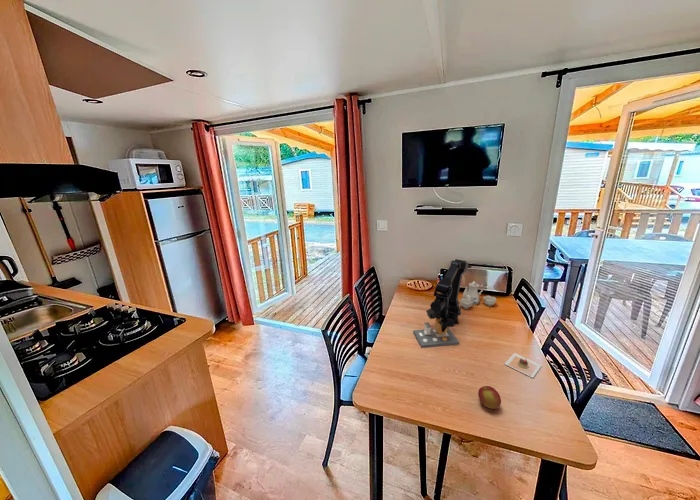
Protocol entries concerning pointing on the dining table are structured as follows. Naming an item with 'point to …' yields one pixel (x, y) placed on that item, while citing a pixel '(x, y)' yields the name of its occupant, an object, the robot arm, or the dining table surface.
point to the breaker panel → (435, 338)
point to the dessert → (523, 363)
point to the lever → (427, 328)
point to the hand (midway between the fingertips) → (440, 328)
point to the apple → (489, 397)
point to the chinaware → (474, 296)
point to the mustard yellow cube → (439, 326)
